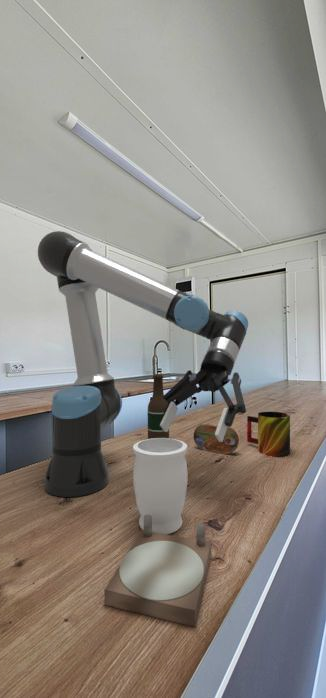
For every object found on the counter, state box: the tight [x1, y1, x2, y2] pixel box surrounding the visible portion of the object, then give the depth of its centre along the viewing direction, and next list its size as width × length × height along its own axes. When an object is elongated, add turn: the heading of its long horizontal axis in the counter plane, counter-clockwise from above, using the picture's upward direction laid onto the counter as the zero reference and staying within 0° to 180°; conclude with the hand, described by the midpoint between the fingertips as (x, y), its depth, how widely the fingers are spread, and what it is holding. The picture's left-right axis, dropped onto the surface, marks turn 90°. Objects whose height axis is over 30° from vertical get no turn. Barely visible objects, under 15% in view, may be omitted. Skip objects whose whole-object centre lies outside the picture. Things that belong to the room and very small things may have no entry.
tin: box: [193, 423, 240, 455], centre depth 103 cm, size 15×3×8 cm, turn 56°
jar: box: [132, 437, 189, 535], centre depth 61 cm, size 11×10×15 cm
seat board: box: [103, 515, 212, 628], centre depth 47 cm, size 12×14×5 cm
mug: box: [246, 411, 291, 458], centre depth 103 cm, size 10×14×12 cm
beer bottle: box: [147, 373, 170, 439], centre depth 114 cm, size 8×8×24 cm
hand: (189, 433), depth 68 cm, fingers open, 13 cm apart
